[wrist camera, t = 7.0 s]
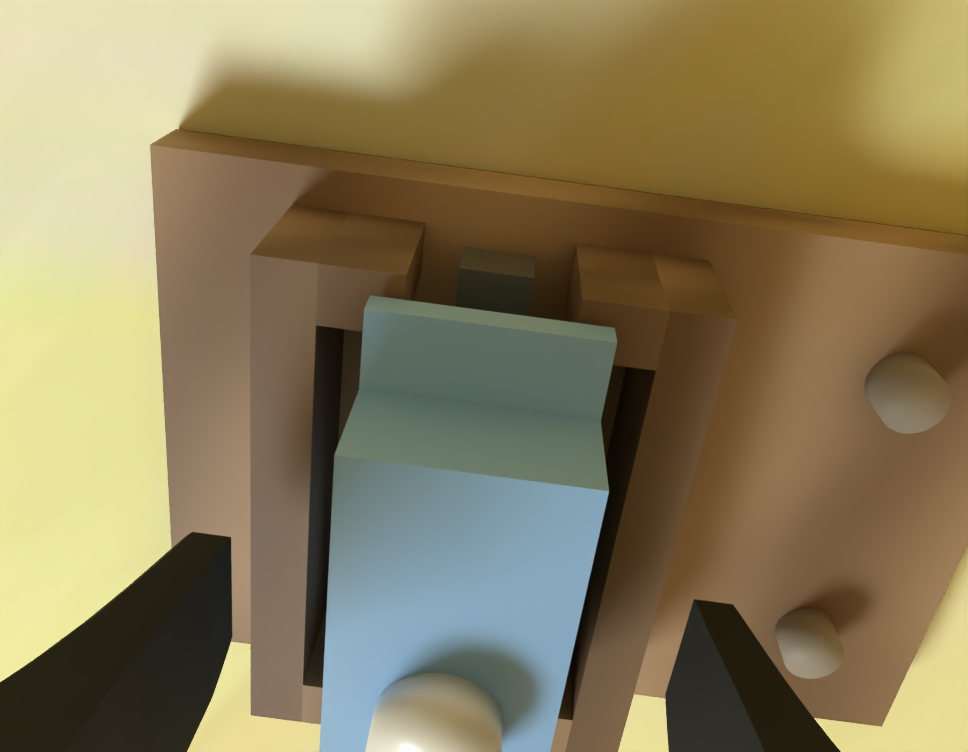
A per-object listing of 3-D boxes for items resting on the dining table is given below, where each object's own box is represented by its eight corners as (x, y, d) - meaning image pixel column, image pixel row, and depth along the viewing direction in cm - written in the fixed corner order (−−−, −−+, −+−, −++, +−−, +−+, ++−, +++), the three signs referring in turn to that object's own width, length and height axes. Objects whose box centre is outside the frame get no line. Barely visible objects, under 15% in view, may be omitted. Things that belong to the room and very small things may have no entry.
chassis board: (1059, 248, 16) (1191, 334, 13) (864, 685, 21) (923, 826, 18) (176, 129, 16) (82, 185, 13) (194, 597, 21) (131, 723, 18)
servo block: (396, 230, 15) (327, 386, 10) (604, 257, 15) (635, 426, 10) (367, 611, 19) (306, 858, 14) (531, 633, 19) (528, 886, 14)
